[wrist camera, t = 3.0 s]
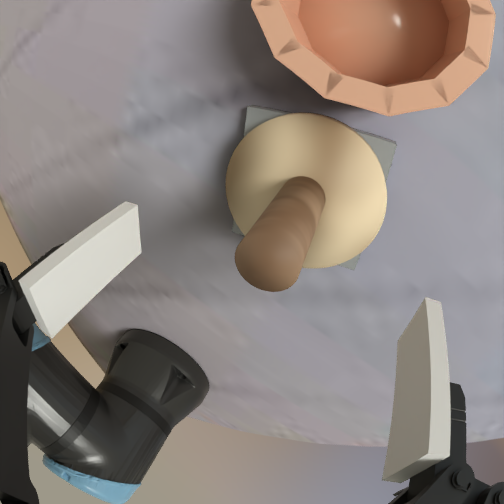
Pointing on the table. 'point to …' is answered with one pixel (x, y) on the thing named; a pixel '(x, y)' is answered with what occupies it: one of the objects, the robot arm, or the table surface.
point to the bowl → (382, 48)
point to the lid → (302, 197)
